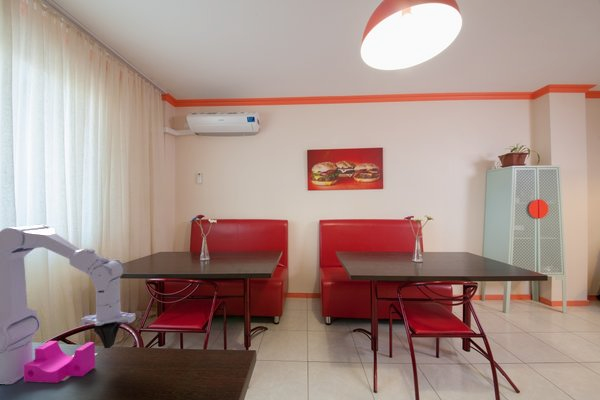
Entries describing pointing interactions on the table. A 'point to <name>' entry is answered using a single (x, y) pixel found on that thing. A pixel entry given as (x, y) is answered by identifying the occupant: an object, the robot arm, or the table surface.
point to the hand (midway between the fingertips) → (109, 346)
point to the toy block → (59, 363)
